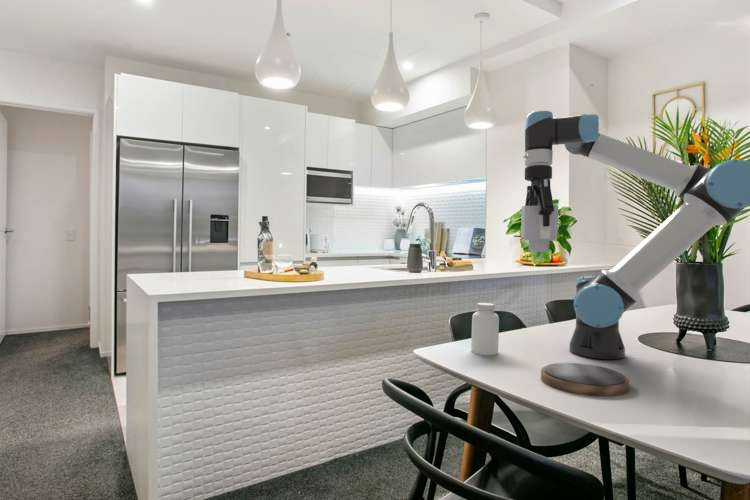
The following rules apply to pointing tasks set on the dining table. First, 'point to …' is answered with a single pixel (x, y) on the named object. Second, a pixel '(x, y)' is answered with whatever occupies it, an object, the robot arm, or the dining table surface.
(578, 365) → the round mirror
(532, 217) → the charger
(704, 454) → the dining table surface
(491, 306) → the pill bottle
